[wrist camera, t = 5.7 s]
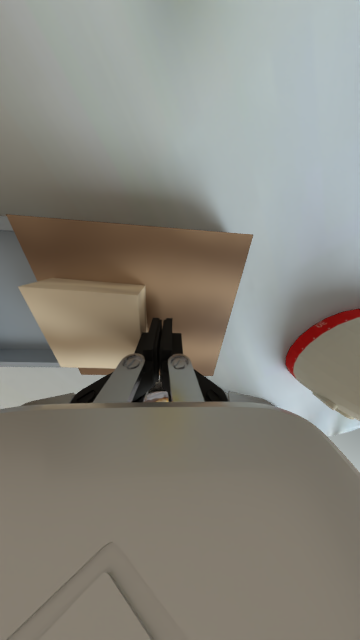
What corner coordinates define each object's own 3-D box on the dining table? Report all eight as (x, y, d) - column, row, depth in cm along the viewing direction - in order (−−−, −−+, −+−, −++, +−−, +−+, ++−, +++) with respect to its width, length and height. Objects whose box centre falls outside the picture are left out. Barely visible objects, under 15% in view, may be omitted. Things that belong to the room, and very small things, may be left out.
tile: (52, 277, 10) (17, 286, 8) (145, 285, 10) (137, 295, 8) (79, 347, 13) (60, 367, 11) (148, 350, 14) (143, 369, 12)
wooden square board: (57, 224, 11) (5, 214, 8) (231, 238, 12) (253, 234, 9) (98, 351, 19) (81, 374, 15) (206, 353, 20) (212, 375, 16)
